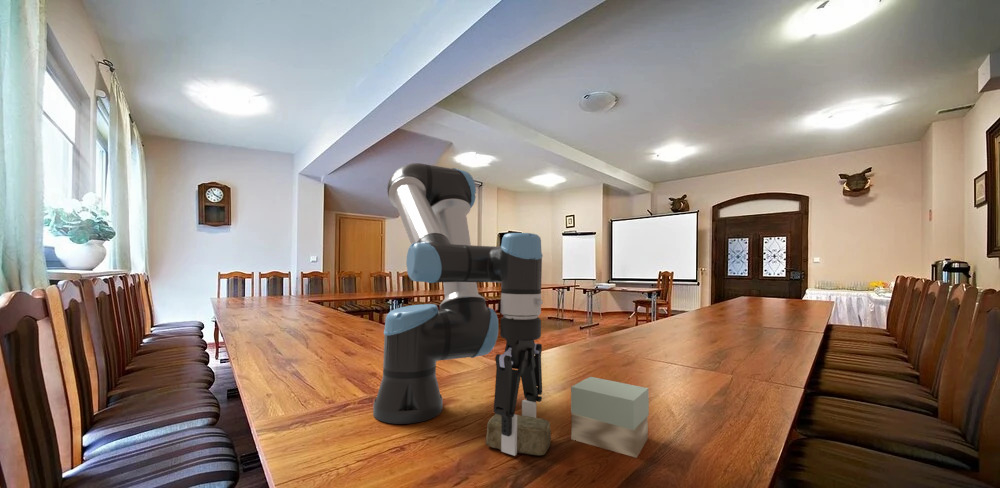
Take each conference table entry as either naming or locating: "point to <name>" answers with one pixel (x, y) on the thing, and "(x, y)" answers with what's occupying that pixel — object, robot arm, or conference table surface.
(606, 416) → the tower top
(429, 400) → the robot arm
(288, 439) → the conference table surface
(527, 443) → the stone block
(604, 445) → the tower base
